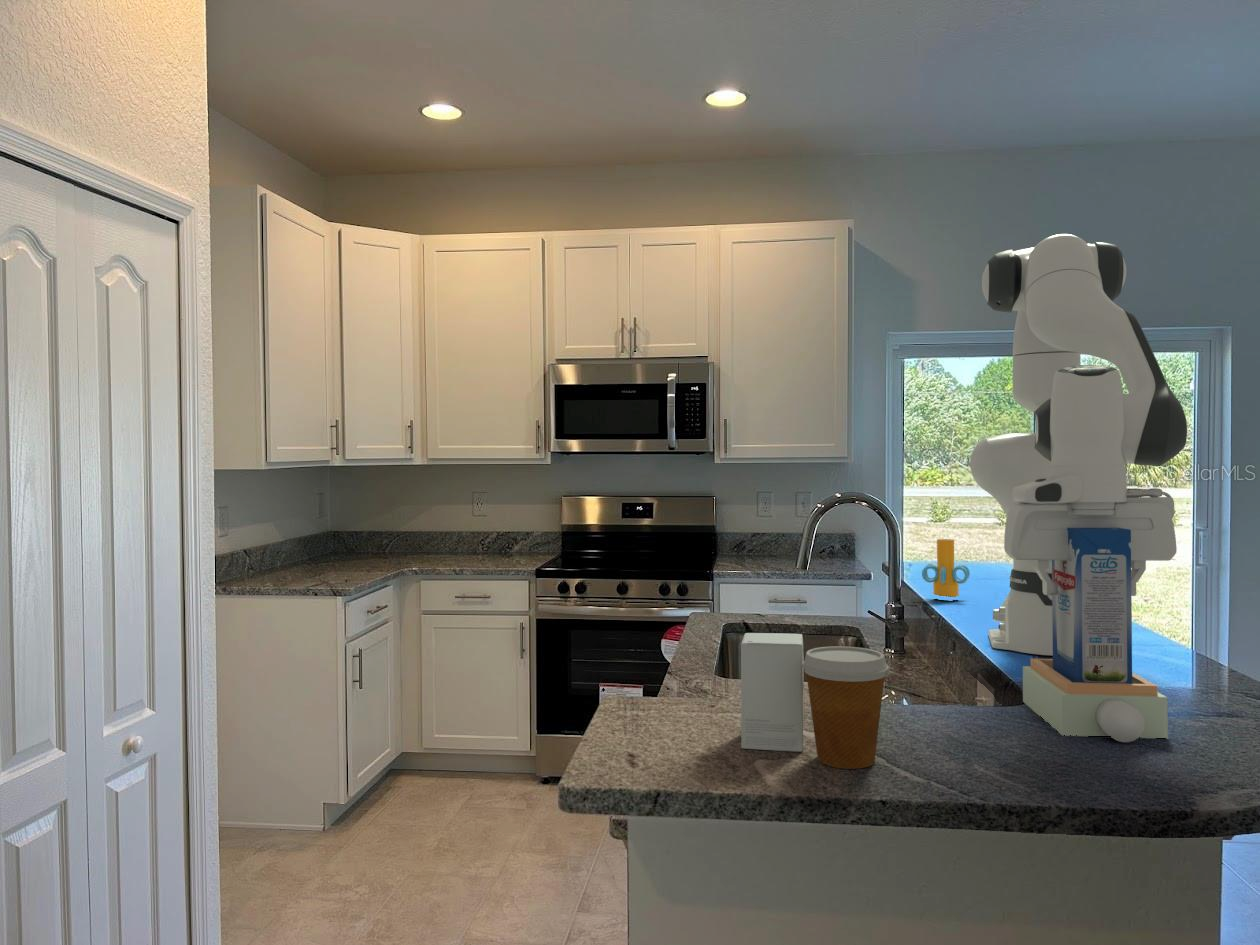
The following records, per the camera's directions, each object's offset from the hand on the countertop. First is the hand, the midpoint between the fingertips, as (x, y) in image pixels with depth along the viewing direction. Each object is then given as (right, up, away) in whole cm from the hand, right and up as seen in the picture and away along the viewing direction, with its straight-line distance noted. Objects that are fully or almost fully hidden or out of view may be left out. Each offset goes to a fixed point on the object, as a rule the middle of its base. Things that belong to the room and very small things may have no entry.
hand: (1088, 595), depth 116 cm
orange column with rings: (+19, -16, +105) cm, 108 cm away
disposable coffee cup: (-35, -17, -15) cm, 42 cm away
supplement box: (-42, -17, -8) cm, 46 cm away
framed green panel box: (0, -16, -1) cm, 16 cm away
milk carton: (0, -11, 0) cm, 11 cm away
